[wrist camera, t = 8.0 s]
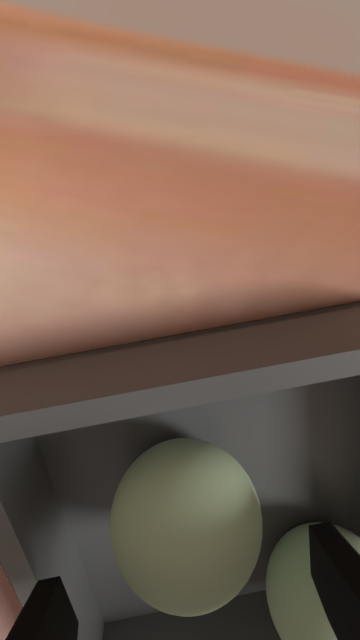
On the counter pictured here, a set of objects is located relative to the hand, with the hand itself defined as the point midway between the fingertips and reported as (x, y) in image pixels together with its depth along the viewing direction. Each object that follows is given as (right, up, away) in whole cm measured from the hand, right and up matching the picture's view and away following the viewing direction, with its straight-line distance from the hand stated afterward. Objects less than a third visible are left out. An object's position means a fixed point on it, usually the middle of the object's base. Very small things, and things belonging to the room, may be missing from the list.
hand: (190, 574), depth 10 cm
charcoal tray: (+1, 0, +5) cm, 5 cm away
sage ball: (0, +1, +2) cm, 2 cm away
